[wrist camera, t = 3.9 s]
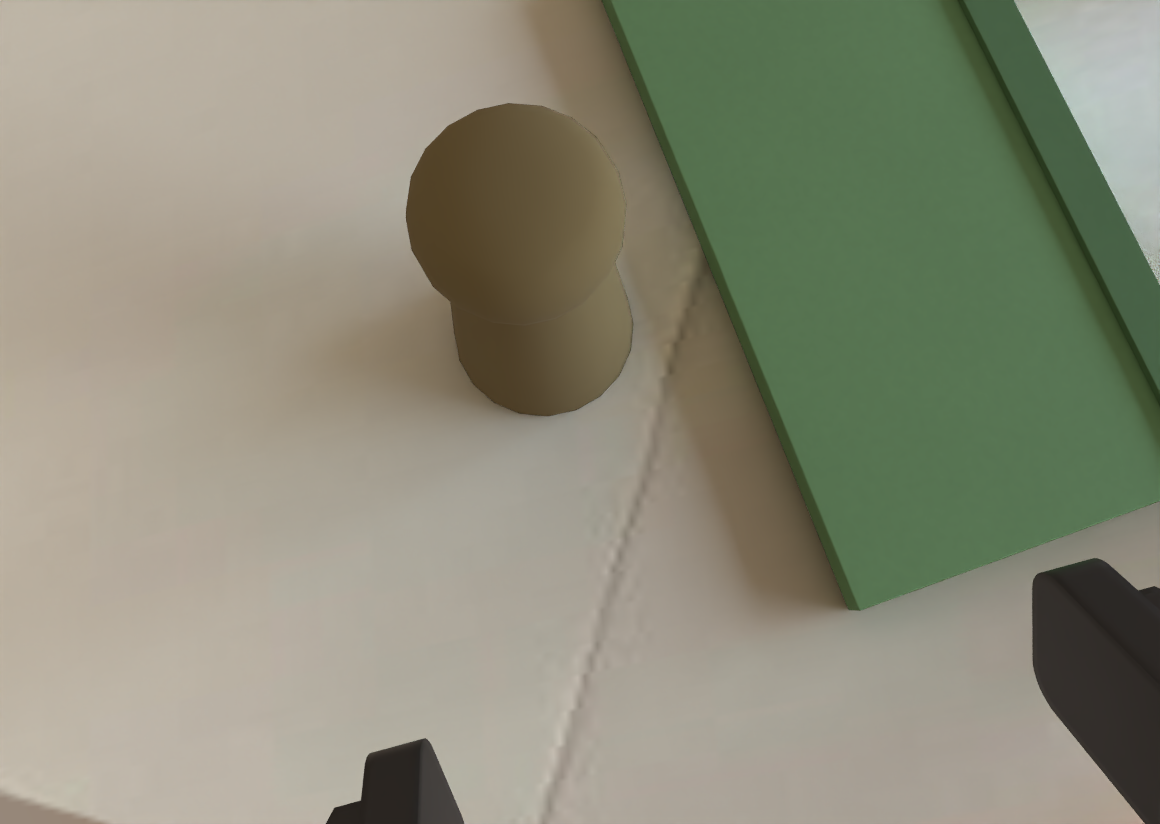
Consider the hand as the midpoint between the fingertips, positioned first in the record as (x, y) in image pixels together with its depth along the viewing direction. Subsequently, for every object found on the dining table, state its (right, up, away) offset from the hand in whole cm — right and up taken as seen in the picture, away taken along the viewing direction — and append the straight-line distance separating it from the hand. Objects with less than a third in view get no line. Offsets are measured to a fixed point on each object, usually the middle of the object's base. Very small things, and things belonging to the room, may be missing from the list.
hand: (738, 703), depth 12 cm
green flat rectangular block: (+9, +11, +20) cm, 24 cm away
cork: (-3, +7, +19) cm, 21 cm away
